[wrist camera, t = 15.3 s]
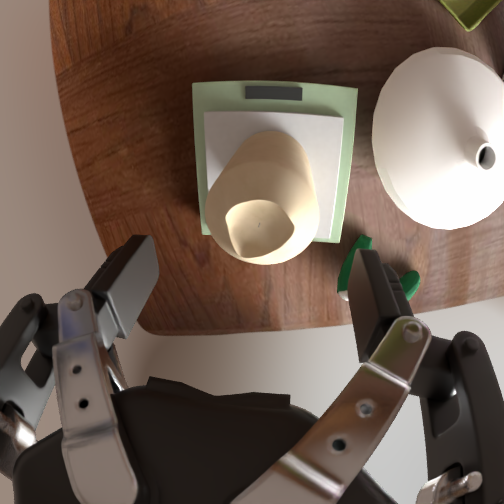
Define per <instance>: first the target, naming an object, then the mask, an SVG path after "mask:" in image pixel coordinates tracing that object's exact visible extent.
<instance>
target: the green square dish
mask: <svg viewBox="0 0 504 504" xmlns="http://www.w3.org/2000/svg"><path fill="white" fill-rule="evenodd" d="M501 1H502V0H439V2H440V3H441V4H442V5H443V6H444V7H445V8H446V9H447V10H448V11H449V13H450V14H451V15H452V16H453V17H454V18H455V20H456V21H457V22H458V23H459V24H460V25H461V26H462V27H463V28H464V29H465V30H466V31H468V32H470V31H472V30H473V29H474V28H475V27H476V26H477V25H478V24H479V23H480V22H481V21H482V20H483V19H484V18H485V17H486V16H487V15H488V14H489V13H490V12H491V11H492V10H493V9H494V8H495V7H496V6H497V5H498V4H499V3H500V2H501Z"/></svg>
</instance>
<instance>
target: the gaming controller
mask: <svg viewBox="0 0 504 504" xmlns="http://www.w3.org/2000/svg"><path fill="white" fill-rule="evenodd" d="M357 249H371V250H372V238H370V237H367V236H365V235H361V236H360V237H359V238H358V240H357V241H356V243H355V244H354V246H353V247H352V249H351V250H350V252H349V254H348V256H347V257H346V259H345V261H344V263H343V265H342V268H341V271H340V274H339V277H338V285H337V293H338V294H339V296H340V297H341V298H343V299H344V300H348V294H347V288H348V280H349V276H350V272H351V268H352V264H353V260H354V255H355V252H356V250H357ZM399 280H400V283H401V285H402V287H403V291H404V292H405V295H406V297H407V300H408V301H409V300H410V299H411V297H412V296H413V295H414V294H415V292H416V291H417V289H418V287H419V284H420V276H419V274H418V272H417V271H410V272H408V273H406V274H405V275H404V276H402V277H401V278H400V279H399ZM348 301H349V300H348Z"/></svg>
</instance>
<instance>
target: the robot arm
mask: <svg viewBox="0 0 504 504" xmlns="http://www.w3.org/2000/svg"><path fill="white" fill-rule="evenodd" d="M158 277H159V265H158V261H157V256H156V251H155V246H154V241H153V238H152V236H150V235H132V236H131V237H130V239H129V240H128V241H127V242H126V244H125V245H124V246H121V247H119V248H118V249H116V250H115V251H113V252H112V253H111V254H110V256H109V257H108V258H107V259H106V262H104V263H103V264H102V266H101V268H99V269H98V271H97V272H96V273H95V275H94V276H93V277H92V278H91V280H90V281H89V282H88V284H87V285H86V286H85V288H84V289H75V290H73V291H70V292H68V293H67V294H65V295H64V296H63V297H62V298H61V299H60V301H59V303H54V304H45V303H44V301H43V299H42V297H41V296H40V295H39V294H36V293H33V294H29V295H26V296H24V297H23V298H21V299H20V300H19V301H18V302H17V304H16V305H15V306H14V308H13V309H12V310H11V312H10V313H9V315H8V316H7V318H6V319H5V320H4V322H3V323H2V325H1V326H0V473H2V474H3V475H4V476H6V477H7V478H9V479H10V480H11V481H12V482H13V491H14V504H398V503H397V502H396V501H395V500H394V499H393V498H392V497H391V496H390V495H389V494H388V493H387V492H386V491H385V490H384V489H383V488H382V487H381V486H380V485H379V483H378V482H377V481H376V480H375V479H374V478H373V477H372V476H371V475H370V474H369V473H368V472H367V470H366V469H365V468H364V467H363V466H364V465H365V463H366V462H367V461H368V459H369V458H370V456H371V455H372V454H373V452H374V451H375V449H376V448H377V446H378V445H379V443H380V442H381V440H382V438H383V437H384V435H385V433H386V432H387V431H388V429H389V427H390V425H391V424H392V422H393V421H394V419H395V417H396V416H397V414H398V412H399V410H400V408H401V407H402V405H403V403H404V401H405V400H406V398H407V396H408V394H411V395H416V396H419V398H420V405H421V411H422V418H423V426H424V434H425V443H426V454H427V468H428V482H427V483H426V484H424V485H423V487H422V488H421V489H420V491H419V493H418V496H417V501H416V504H504V401H503V397H502V394H501V390H500V387H499V384H498V381H497V378H496V375H495V372H494V369H493V366H492V363H491V361H490V358H489V355H488V352H487V350H486V347H485V345H484V343H483V341H482V340H481V339H480V338H479V337H478V336H477V335H475V334H474V333H471V332H468V331H461V332H458V333H457V334H456V335H455V336H454V338H453V340H452V341H451V340H447V339H443V338H439V337H435V336H432V335H431V331H430V329H429V328H428V326H427V325H426V324H425V323H424V322H423V321H421V320H420V319H418V318H415V317H414V315H413V312H412V310H411V307H410V305H409V302H408V300H407V297H406V295H405V292H404V291H403V287H402V285H401V283H400V280H399V278H398V275H397V273H396V271H395V270H394V269H393V268H392V267H391V266H390V265H389V264H388V263H382V262H381V260H380V257H379V255H378V253H377V251H376V250H371V249H357V250H356V252H355V255H354V260H353V264H352V268H351V272H350V276H349V280H348V288H347V294H348V300H349V305H350V310H351V316H352V321H353V327H354V332H355V338H356V344H357V350H358V356H359V362H360V363H363V365H362V366H361V367H360V369H359V370H358V371H357V373H356V374H355V375H354V377H353V378H352V379H351V381H350V382H349V383H348V384H347V386H346V387H345V388H344V390H343V391H342V392H341V393H340V395H339V396H338V397H337V398H336V400H335V401H334V402H333V403H332V404H331V406H330V407H329V408H328V409H327V410H326V412H325V413H324V414H323V415H322V416H321V417H320V418H318V417H317V416H315V415H314V414H312V413H311V412H309V411H307V410H305V409H303V408H300V407H298V406H295V405H291V404H290V395H288V394H271V393H258V392H251V393H243V394H234V395H223V396H214V395H211V394H208V393H206V392H203V391H200V390H198V389H196V388H193V387H191V386H189V385H186V384H184V383H182V382H176V381H171V380H166V379H161V378H155V377H151V376H150V377H149V379H148V382H147V385H145V386H144V385H143V386H136V387H131V388H128V386H127V383H126V381H125V378H124V375H123V371H122V368H121V365H120V362H119V358H118V355H117V351H116V348H115V345H114V343H113V341H114V339H115V337H119V338H123V339H127V338H128V336H129V334H130V332H131V330H132V328H133V326H134V324H135V322H136V320H137V318H138V316H139V314H140V312H141V310H142V308H143V307H144V305H145V303H146V301H147V299H148V297H149V295H150V294H151V292H152V290H153V288H154V286H155V284H156V283H157V280H158ZM31 341H32V343H33V344H34V346H35V347H36V348H37V350H36V351H35V353H34V355H33V357H32V359H31V361H30V362H29V364H28V366H27V368H26V370H25V371H24V370H23V369H22V367H21V357H22V355H23V353H24V352H25V350H26V348H27V347H28V345H29V343H30V342H31ZM54 386H56V393H57V400H58V407H59V413H60V418H61V424H62V428H60V429H58V430H57V431H55V432H53V433H52V434H50V435H48V436H47V437H45V438H43V439H42V440H40V441H37V440H36V434H35V430H36V428H37V425H38V422H39V420H40V418H41V415H42V413H43V410H44V408H45V406H46V403H47V401H48V399H49V397H50V394H51V392H52V390H53V388H54Z"/></svg>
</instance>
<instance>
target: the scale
mask: <svg viewBox="0 0 504 504" xmlns="http://www.w3.org/2000/svg"><path fill="white" fill-rule="evenodd" d="M357 93H358V89H357V88H351V87H344V86H336V85H327V84H317V83H304V82H288V81H215V82H199V83H192V95H193V118H194V137H195V154H196V169H197V182H198V195H199V207H200V218H201V229H202V234H206V235H211V233H210V231H209V229H208V226H207V223H206V218H205V203H206V199H207V195H208V193H209V190H210V189H211V187H212V185H213V184H214V182H215V181H216V179H217V178H218V176H219V175H220V173H221V172H222V171H223V169H224V168H225V166H226V165H227V163H228V162H229V161H230V159H231V158H232V156H233V155H234V154H235V152H236V151H237V149H238V148H239V147H240V146H241V144H242V143H243V142H244V141H245V140H246V139H248V138H249V137H251V136H252V135H254V134H257V133H260V132H264V131H277V132H282V133H285V134H287V135H289V136H291V137H292V138H294V139H295V140H296V141H298V142H299V143H300V145H301V146H302V147H303V149H304V150H305V152H306V154H307V157H308V160H309V164H310V168H311V173H312V178H313V182H314V187H315V192H316V197H317V202H318V208H319V223H318V227H317V231H316V233H315V235H314V237H313V239H312V241H317V242H331V243H339V241H340V236H341V230H342V224H343V218H344V211H345V205H346V198H347V191H348V184H349V176H350V168H351V160H352V151H353V142H354V131H355V120H356V108H357Z"/></svg>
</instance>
